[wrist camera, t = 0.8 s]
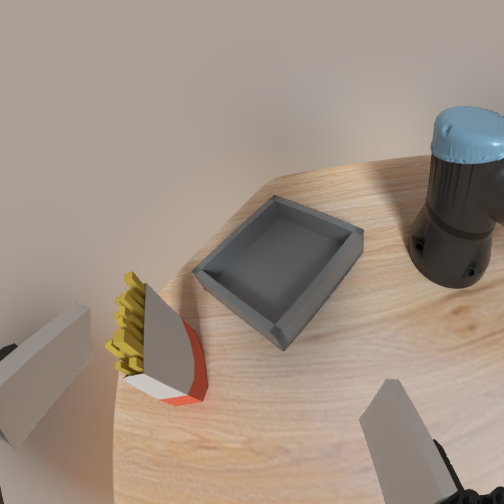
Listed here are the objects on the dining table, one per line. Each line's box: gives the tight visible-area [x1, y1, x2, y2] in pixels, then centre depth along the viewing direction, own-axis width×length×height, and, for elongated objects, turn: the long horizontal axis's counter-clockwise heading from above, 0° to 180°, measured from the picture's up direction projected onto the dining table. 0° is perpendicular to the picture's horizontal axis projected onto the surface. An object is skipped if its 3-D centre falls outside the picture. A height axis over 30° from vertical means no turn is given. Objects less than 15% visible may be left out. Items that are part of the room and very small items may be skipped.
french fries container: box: [105, 272, 208, 406], centre depth 30 cm, size 5×11×18 cm, turn 11°
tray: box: [192, 195, 364, 351], centre depth 42 cm, size 20×18×5 cm
